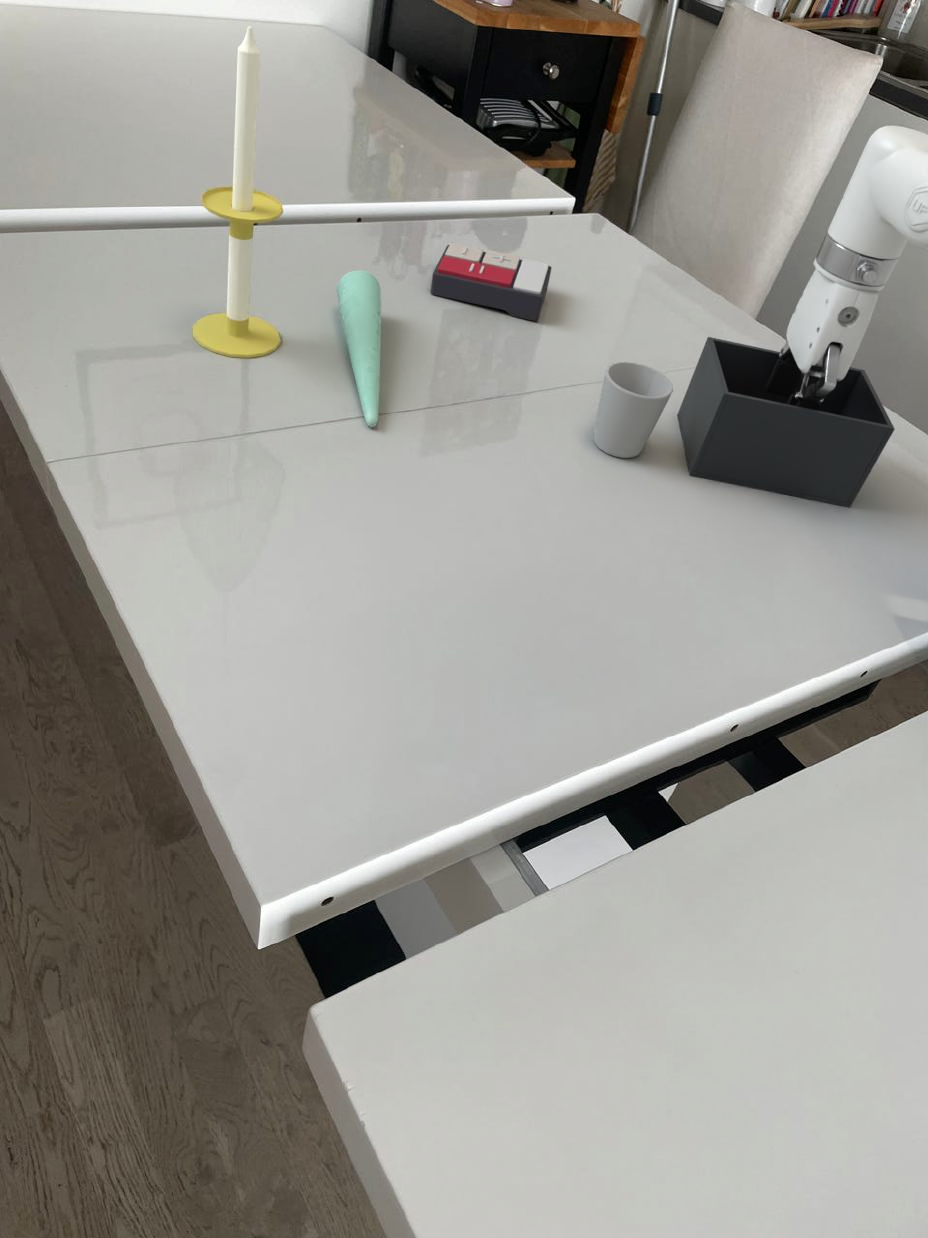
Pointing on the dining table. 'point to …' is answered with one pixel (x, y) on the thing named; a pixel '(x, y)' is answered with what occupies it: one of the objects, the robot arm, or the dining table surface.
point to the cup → (629, 407)
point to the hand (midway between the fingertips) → (784, 409)
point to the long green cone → (363, 335)
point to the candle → (241, 226)
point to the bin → (779, 428)
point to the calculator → (492, 280)
